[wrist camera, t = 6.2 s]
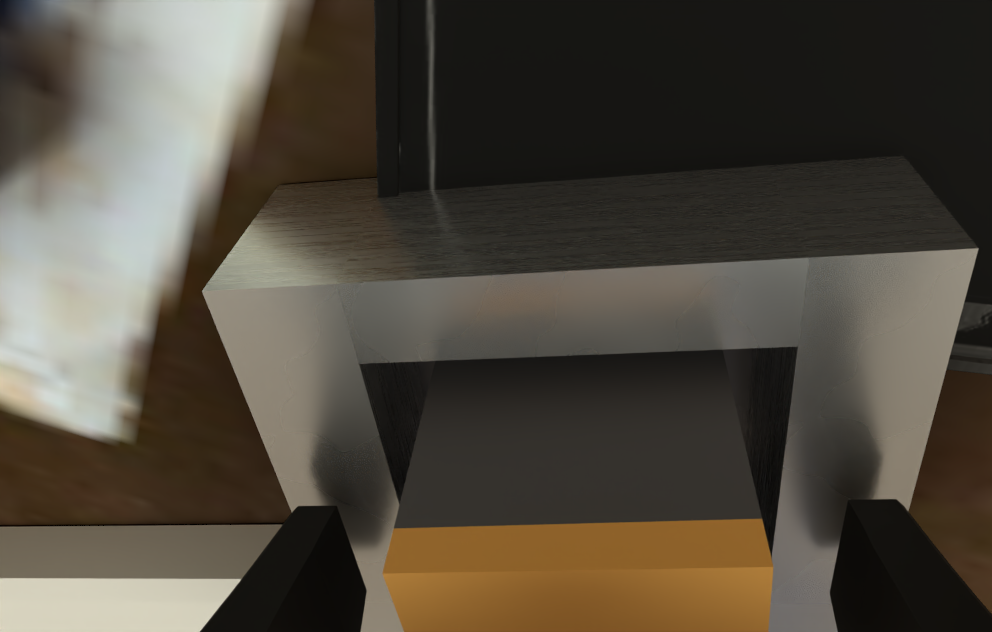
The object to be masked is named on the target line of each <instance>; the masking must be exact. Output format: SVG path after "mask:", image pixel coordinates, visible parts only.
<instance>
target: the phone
mask: <svg viewBox="0 0 992 632" xmlns="http://www.w3.org/2000/svg"><path fill="white" fill-rule="evenodd" d="M374 9H375V74H376V139H377V198H385V197H397V196H398V194H399V192H411V191H424V190H438V189H452V188H466V187H479V186H493V185H507V184H520V183H534V182H548V181H562V180H575V179H589V178H603V177H616V176H630V175H644V174H658V173H671V172H685V171H699V170H713V169H726V168H740V167H754V166H767V165H781V164H795V163H809V162H822V161H836V160H850V159H863V158H877V157H891V156H904V157H905V158H906V159H907V161H908V162H909V163H910V164H911V165H912V167H913V168H914V169H915V170H916V172H917V173H918V174H919V175H920V177H921V178H922V179H923V180H924V182H925V183H926V184H927V185H928V186H929V188H930V189H931V190H932V191H933V193H934V194H935V195H936V196H937V198H938V199H939V200H940V201H941V202H942V204H943V205H944V206H945V207H946V209H947V210H948V211H949V212H950V214H951V215H952V216H953V217H954V219H955V220H956V221H957V222H958V223H959V225H960V226H961V227H962V228H963V230H964V231H965V232H966V233H967V235H968V236H969V237H970V238H971V240H972V241H973V242H974V243H975V244H976V246H977V247H978V248H979V249H978V253H977V256H976V260H975V264H974V268H973V271H972V275H971V279H970V282H969V286H968V290H967V294H966V297H965V301H964V305H963V309H962V312H961V316H960V320H959V324H958V327H957V331H956V335H955V339H954V342H953V346H952V350H951V354H950V357H949V361H948V365H947V369H946V370H955V371H963V372H972V373H981V374H989V375H992V0H374Z"/></svg>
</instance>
